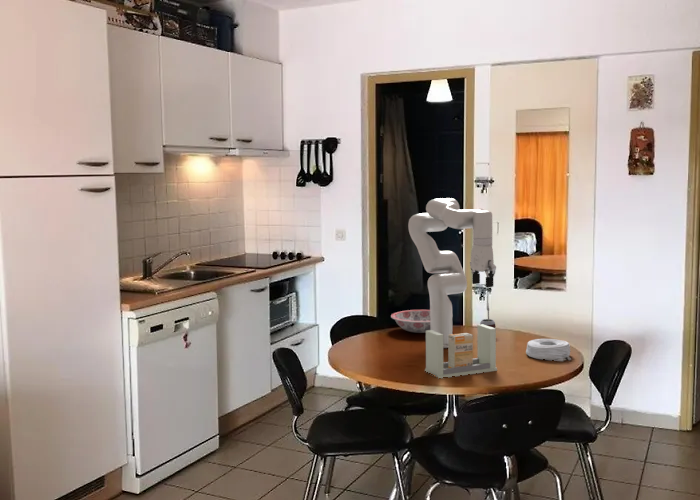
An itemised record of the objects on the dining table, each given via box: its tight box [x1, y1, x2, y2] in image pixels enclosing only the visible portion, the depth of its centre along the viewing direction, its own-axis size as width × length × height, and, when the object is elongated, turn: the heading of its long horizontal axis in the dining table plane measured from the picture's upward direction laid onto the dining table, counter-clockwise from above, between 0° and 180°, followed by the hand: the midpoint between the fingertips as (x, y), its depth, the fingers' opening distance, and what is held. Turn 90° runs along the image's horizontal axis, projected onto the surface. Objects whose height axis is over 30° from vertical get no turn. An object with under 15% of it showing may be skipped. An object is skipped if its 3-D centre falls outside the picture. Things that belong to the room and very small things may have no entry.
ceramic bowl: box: [390, 309, 454, 334], centre depth 344 cm, size 29×29×8 cm
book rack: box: [424, 323, 498, 379], centre depth 274 cm, size 11×25×16 cm, turn 112°
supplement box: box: [447, 332, 474, 368], centre depth 274 cm, size 8×5×13 cm, turn 113°
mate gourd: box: [479, 302, 497, 328], centre depth 330 cm, size 8×8×15 cm
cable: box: [525, 338, 572, 362], centre depth 295 cm, size 18×18×6 cm
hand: (482, 285), depth 287 cm, fingers open, 9 cm apart
